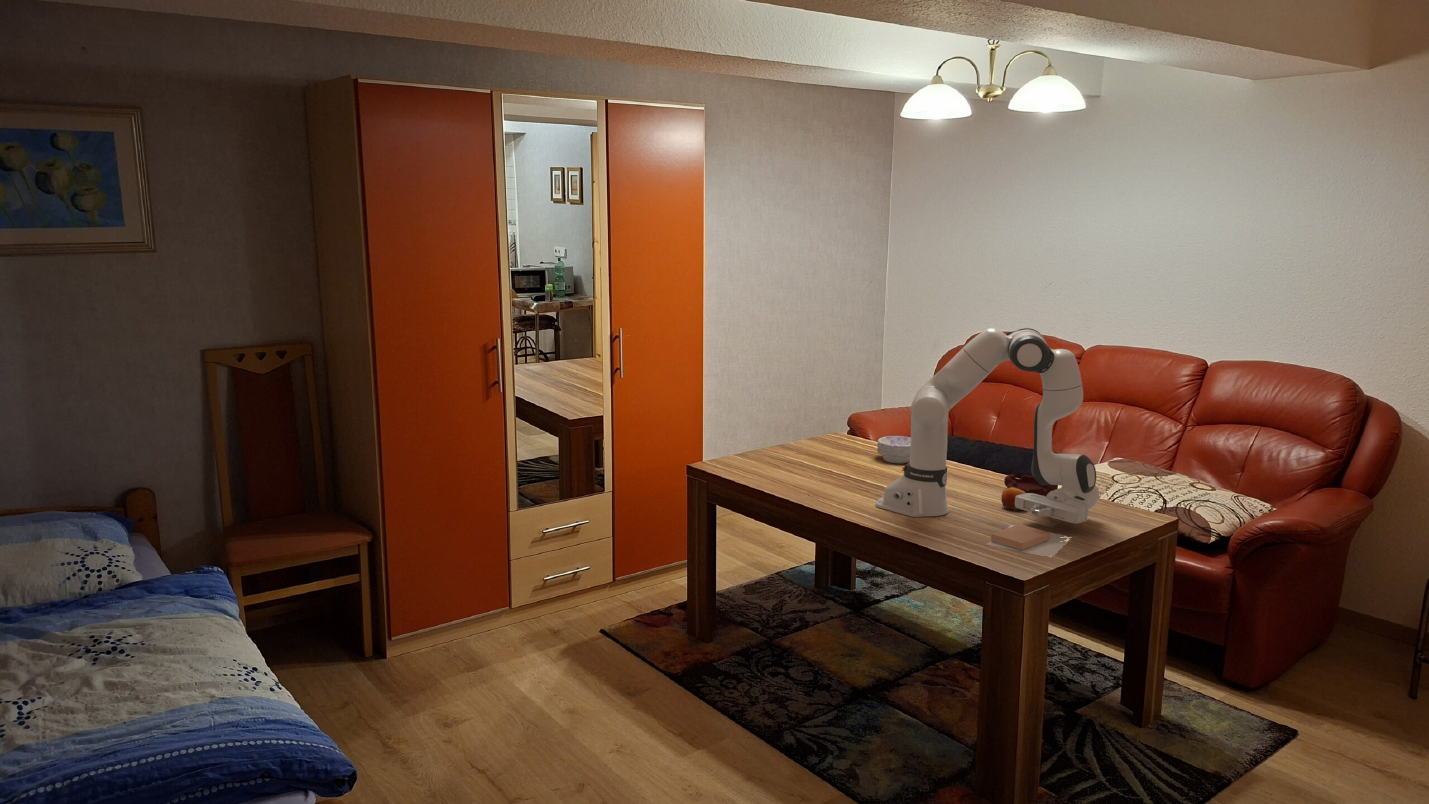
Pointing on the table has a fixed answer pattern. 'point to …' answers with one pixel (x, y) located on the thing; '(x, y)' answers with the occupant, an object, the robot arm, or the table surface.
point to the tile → (1020, 537)
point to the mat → (1041, 546)
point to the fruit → (1010, 497)
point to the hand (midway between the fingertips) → (1034, 512)
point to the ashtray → (1028, 485)
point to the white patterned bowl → (895, 449)
